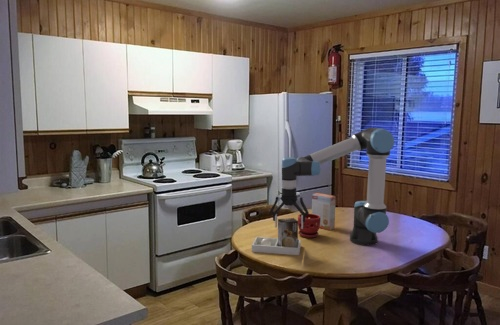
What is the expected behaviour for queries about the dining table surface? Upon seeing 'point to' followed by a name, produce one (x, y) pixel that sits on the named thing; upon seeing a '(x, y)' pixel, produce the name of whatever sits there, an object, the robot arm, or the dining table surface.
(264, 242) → the egg
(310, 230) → the plant pot
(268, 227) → the dining table surface
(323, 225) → the cracker box
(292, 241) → the coffee box
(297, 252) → the divided tray
